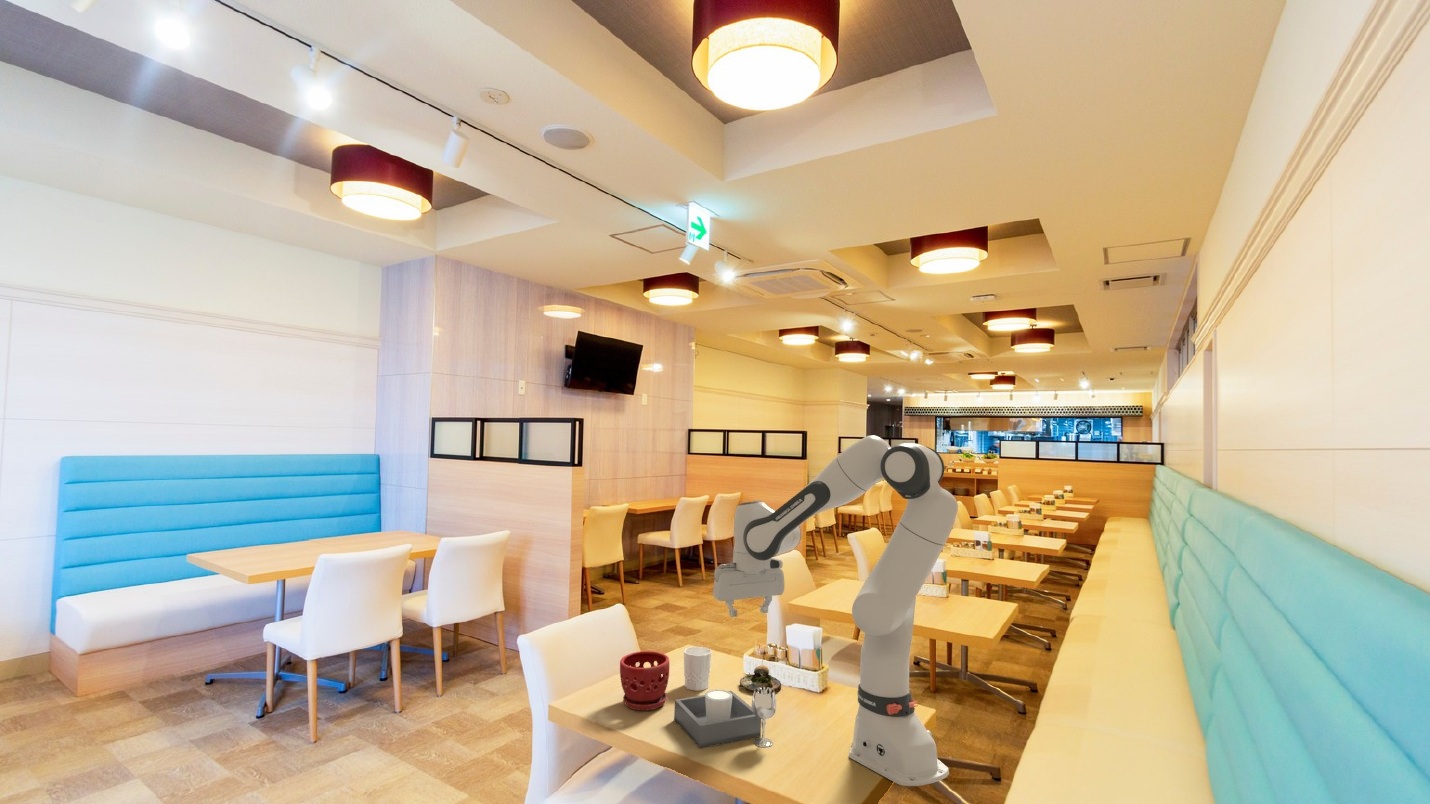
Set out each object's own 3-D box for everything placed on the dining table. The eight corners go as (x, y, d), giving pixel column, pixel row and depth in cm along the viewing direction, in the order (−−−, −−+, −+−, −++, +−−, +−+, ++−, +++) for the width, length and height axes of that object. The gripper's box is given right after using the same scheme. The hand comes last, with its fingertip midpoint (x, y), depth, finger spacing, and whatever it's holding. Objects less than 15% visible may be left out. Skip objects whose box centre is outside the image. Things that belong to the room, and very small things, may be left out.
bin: (760, 736, 156) (761, 715, 156) (699, 748, 149) (700, 726, 149) (730, 710, 170) (731, 690, 170) (674, 719, 163) (674, 699, 164)
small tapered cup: (730, 731, 156) (730, 701, 156) (701, 728, 157) (702, 698, 157) (733, 718, 163) (734, 690, 163) (706, 716, 164) (707, 688, 164)
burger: (731, 689, 185) (732, 662, 186) (753, 677, 195) (753, 651, 195) (768, 699, 178) (768, 672, 179) (788, 686, 188) (789, 660, 188)
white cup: (710, 692, 182) (711, 656, 182) (681, 691, 182) (683, 655, 182) (710, 681, 190) (711, 646, 190) (683, 680, 190) (684, 646, 190)
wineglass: (768, 750, 149) (769, 697, 149) (746, 744, 152) (747, 691, 152) (779, 741, 154) (780, 689, 154) (758, 734, 157) (759, 684, 157)
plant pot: (632, 691, 181) (634, 647, 182) (676, 699, 176) (677, 654, 177) (609, 709, 169) (611, 662, 169) (655, 718, 164) (656, 670, 165)
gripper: (720, 566, 166) (719, 622, 165) (787, 561, 175) (787, 613, 174) (709, 562, 171) (708, 615, 170) (775, 557, 180) (774, 607, 180)
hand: (748, 614), depth 172 cm, fingers open, 8 cm apart
